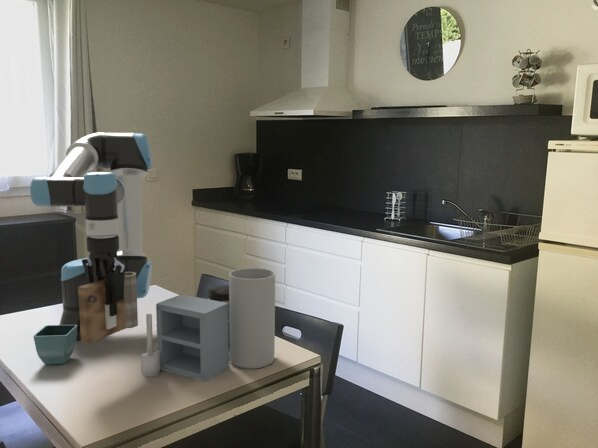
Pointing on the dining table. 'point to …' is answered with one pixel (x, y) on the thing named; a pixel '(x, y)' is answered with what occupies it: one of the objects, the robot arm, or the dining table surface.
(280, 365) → the dining table surface
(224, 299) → the coffee jar
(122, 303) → the brown panel with tube
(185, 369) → the cabinet
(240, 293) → the cylinder vase
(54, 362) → the flower pot
